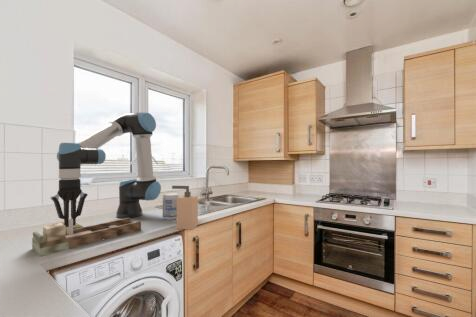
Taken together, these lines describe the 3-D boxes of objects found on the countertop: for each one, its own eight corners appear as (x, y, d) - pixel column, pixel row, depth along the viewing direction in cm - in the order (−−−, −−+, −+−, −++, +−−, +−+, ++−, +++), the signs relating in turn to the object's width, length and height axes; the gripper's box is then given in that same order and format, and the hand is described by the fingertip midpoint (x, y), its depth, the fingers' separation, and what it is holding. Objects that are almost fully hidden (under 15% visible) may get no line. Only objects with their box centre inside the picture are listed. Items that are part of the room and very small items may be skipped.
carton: (72, 228, 122) (72, 220, 122) (83, 234, 113) (83, 225, 113) (52, 232, 116) (52, 223, 116) (63, 239, 106) (63, 229, 106)
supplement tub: (165, 221, 135) (165, 195, 135) (160, 217, 143) (160, 193, 143) (181, 218, 141) (181, 194, 141) (175, 215, 149) (175, 192, 149)
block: (61, 237, 99) (61, 223, 99) (65, 240, 95) (65, 225, 95) (43, 241, 94) (43, 226, 94) (47, 244, 90) (47, 229, 90)
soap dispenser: (197, 225, 127) (197, 185, 127) (192, 229, 118) (192, 187, 118) (175, 224, 129) (175, 184, 129) (169, 228, 120) (169, 186, 120)
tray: (129, 225, 125) (129, 213, 125) (140, 230, 118) (140, 216, 118) (32, 248, 94) (32, 231, 94) (40, 256, 86) (40, 237, 86)
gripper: (83, 177, 106) (83, 228, 106) (48, 179, 96) (48, 236, 96) (90, 178, 102) (90, 231, 102) (53, 180, 91) (53, 239, 91)
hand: (69, 233), depth 99 cm, fingers closed
